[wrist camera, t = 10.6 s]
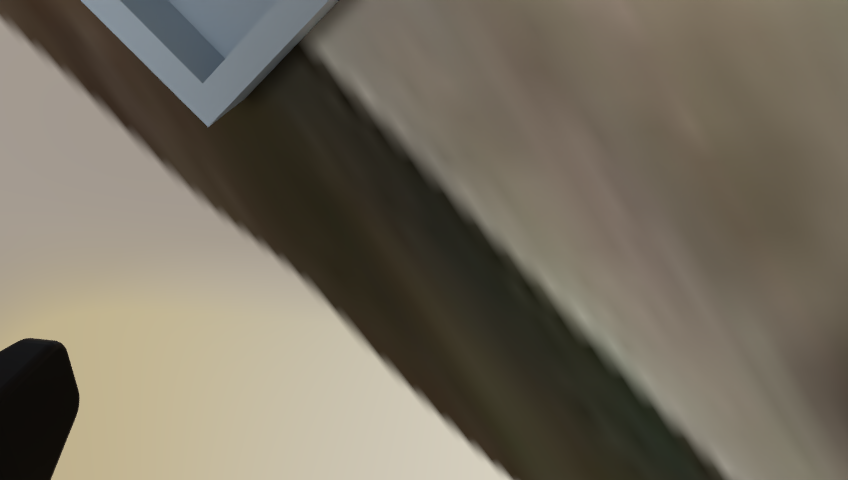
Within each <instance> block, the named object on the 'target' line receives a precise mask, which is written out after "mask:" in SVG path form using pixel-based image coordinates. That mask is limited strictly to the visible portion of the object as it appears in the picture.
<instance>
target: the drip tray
mask: <svg viewBox="0 0 848 480" xmlns="http://www.w3.org/2000/svg"><path fill="white" fill-rule="evenodd" d="M81 1H82V2H83V3H84V4H85V5H86V6H87V7H88V8H89V9H90V10H91V11H92V12H93V13H94V14H95V15H96V16H97V17H98V18H99V19H100V20H101V21H102V22H103V23H104V24H105V25H106V26H107V27H108V28H109V29H110V30H111V31H112V32H113V33H114V34H115V35H116V36H117V37H118V38H119V39H120V40H121V41H122V42H123V43H124V44H125V45H126V46H127V47H128V48H129V49H130V50H131V51H132V52H133V53H134V54H135V55H136V56H137V57H138V58H139V59H140V60H141V61H142V62H143V63H144V64H145V65H146V66H147V67H148V68H149V69H150V70H151V71H152V72H153V73H154V74H155V75H156V76H157V77H158V78H159V79H160V80H161V81H162V82H163V83H164V84H165V85H166V86H167V87H168V88H169V89H170V90H171V91H172V92H173V93H174V94H175V95H176V96H177V97H178V98H179V99H180V100H181V101H182V102H183V103H184V104H185V105H186V106H187V107H188V108H189V109H190V110H191V111H192V112H193V113H194V114H195V115H196V116H197V117H198V118H199V119H200V120H201V121H203V122H204V123H205V124H206V125H207V126H208V127H209V126H210V125H212V124H213V123H214V122H216V121H217V120H218V119H219V118H221V117H222V116H223V115H225V114H226V113H227V112H228V111H230V110H231V109H232V108H234V107H235V106H236V105H237V104H239V103H240V102H241V101H243V100H244V99H245V98H246V97H247V96H248V95H249V94H250V93H251V92H252V91H253V90H254V89H255V88H256V87H257V86H258V84H259V83H260V82H261V81H262V80H263V79H264V78H265V77H266V76H267V75H268V74H269V73H270V72H271V71H272V70H273V69H274V68H275V67H276V66H277V65H278V64H279V63H280V62H281V61H282V59H283V58H284V57H285V56H286V55H287V54H288V53H289V52H290V51H291V50H292V49H293V48H294V47H295V46H296V45H297V44H298V43H299V42H300V41H301V40H302V39H303V38H304V37H305V35H306V34H307V33H308V32H309V31H310V30H311V29H312V28H313V27H314V26H315V25H316V24H317V23H318V22H319V21H320V20H321V19H322V18H323V17H324V16H325V15H326V14H327V13H328V11H329V10H330V9H331V8H332V7H333V6H334V5H335V4H336V3H337V2H338V1H339V0H81Z"/></svg>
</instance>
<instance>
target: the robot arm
mask: <svg viewBox="0 0 848 480" xmlns="http://www.w3.org/2000/svg"><path fill="white" fill-rule="evenodd" d="M78 407H79V392H78V388H77V384H76V381H75V377H74V374H73V370H72V367H71V363H70V360H69V357H68V353H67V350H66V348H65V347H64V345H63V344H62V343H60V342H58V341H53V340H42V339H33V338H28V339H23V340H20V341H18V342H16V343H14V344H13V345H11V346H9V347H7V348H5V349H4V350H2V351H0V480H51V477H52V475H53V473H54V470H55V467H56V465H57V463H58V460H59V458H60V455H61V452H62V450H63V448H64V445H65V442H66V440H67V438H68V435H69V433H70V430H71V428H72V425H73V423H74V420H75V418H76V415H77V412H78Z"/></svg>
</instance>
